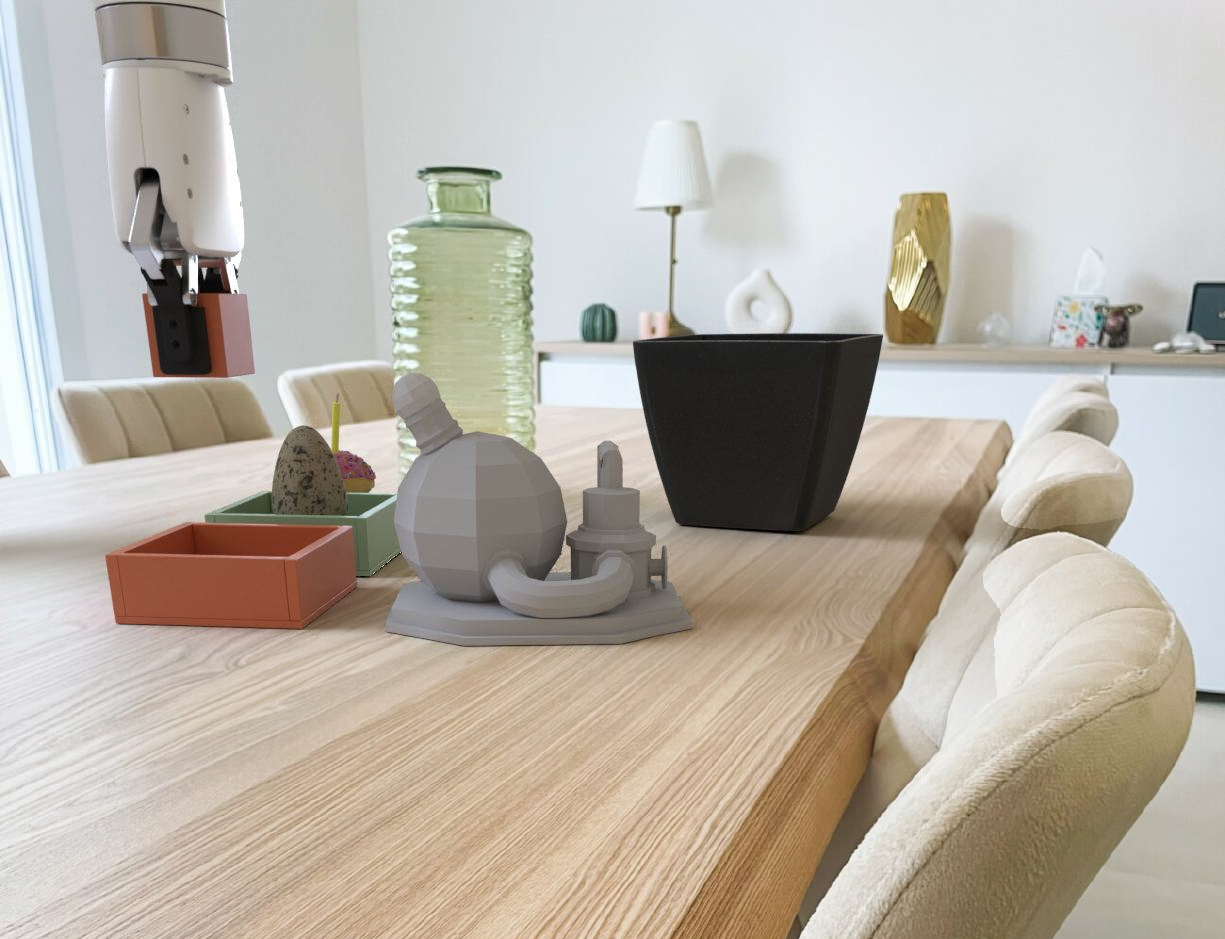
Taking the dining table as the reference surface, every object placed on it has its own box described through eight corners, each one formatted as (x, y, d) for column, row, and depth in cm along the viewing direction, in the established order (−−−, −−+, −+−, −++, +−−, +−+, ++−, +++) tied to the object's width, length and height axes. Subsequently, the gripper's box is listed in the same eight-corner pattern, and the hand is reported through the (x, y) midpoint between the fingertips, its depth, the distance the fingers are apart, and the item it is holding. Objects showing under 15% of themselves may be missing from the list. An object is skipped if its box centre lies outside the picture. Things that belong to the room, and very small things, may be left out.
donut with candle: (397, 526, 115) (389, 391, 110) (335, 540, 108) (323, 397, 103) (328, 518, 119) (317, 387, 114) (264, 531, 112) (249, 393, 107)
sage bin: (211, 573, 95) (203, 514, 93) (268, 543, 106) (262, 490, 105) (370, 577, 94) (365, 518, 92) (410, 546, 105) (406, 493, 104)
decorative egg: (324, 543, 104) (314, 420, 100) (366, 553, 100) (357, 425, 96) (262, 552, 100) (249, 425, 96) (303, 563, 96) (291, 430, 92)
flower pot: (626, 528, 114) (628, 335, 108) (693, 500, 131) (698, 330, 124) (825, 544, 108) (840, 339, 101) (870, 512, 124) (885, 333, 117)
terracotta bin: (115, 623, 80) (104, 554, 78) (193, 582, 92) (185, 522, 90) (302, 629, 79) (295, 559, 77) (357, 587, 91) (352, 525, 89)
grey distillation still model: (376, 646, 75) (357, 380, 69) (402, 591, 89) (388, 367, 83) (699, 643, 76) (708, 382, 70) (674, 589, 91) (680, 368, 84)
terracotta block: (152, 377, 79) (141, 293, 77) (184, 373, 84) (174, 293, 82) (227, 377, 79) (218, 293, 77) (255, 373, 83) (247, 293, 81)
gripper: (165, 77, 82) (200, 365, 89) (33, 25, 67) (88, 379, 74) (274, 76, 82) (301, 366, 89) (166, 22, 66) (209, 380, 73)
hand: (204, 368), depth 81 cm, fingers closed on terracotta block, 5 cm apart
